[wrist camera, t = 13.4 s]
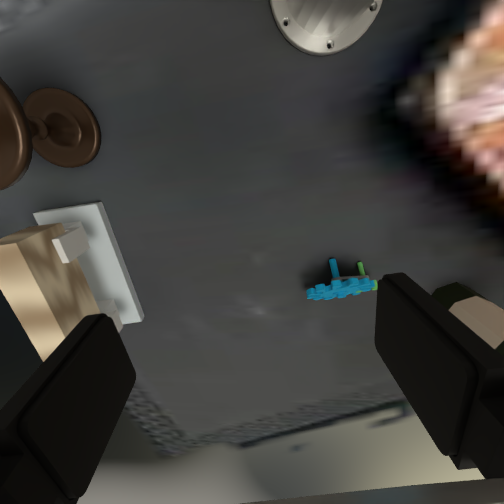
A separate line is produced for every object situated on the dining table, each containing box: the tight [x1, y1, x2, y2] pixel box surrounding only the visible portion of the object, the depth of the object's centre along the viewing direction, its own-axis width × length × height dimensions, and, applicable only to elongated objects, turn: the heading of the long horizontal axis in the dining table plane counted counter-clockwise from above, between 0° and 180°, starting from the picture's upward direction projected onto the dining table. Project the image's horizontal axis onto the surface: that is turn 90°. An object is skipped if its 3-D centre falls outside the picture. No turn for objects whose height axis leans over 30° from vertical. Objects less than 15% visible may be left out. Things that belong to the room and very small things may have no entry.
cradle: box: [33, 202, 144, 333], centre depth 37 cm, size 20×9×10 cm, turn 8°
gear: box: [306, 259, 378, 300], centre depth 41 cm, size 11×6×10 cm
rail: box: [0, 223, 100, 362], centre depth 33 cm, size 18×4×7 cm, turn 7°
